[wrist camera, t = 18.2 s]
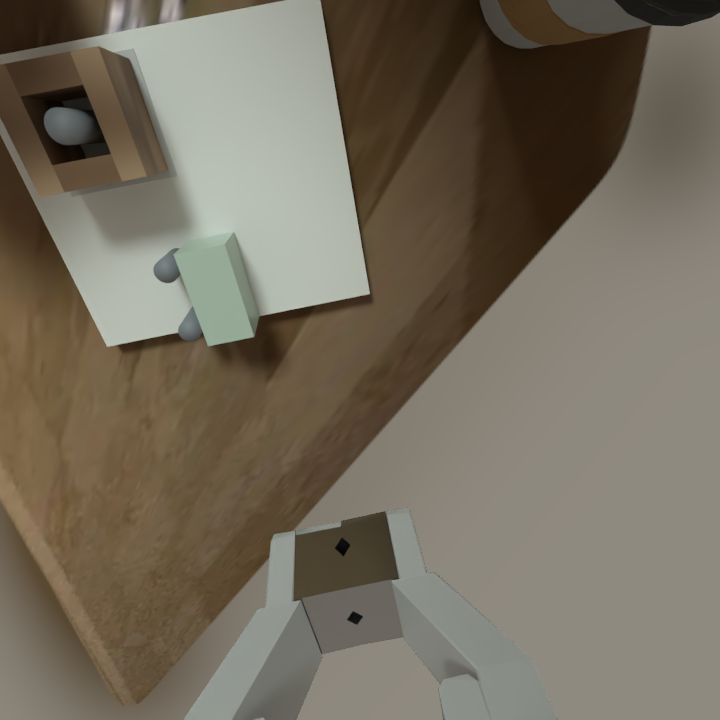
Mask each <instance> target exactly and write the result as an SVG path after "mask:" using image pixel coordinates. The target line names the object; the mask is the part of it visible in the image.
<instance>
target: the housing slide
mask: <svg viewBox="0 0 720 720" xmlns="http://www.w3.org/2000/svg"><path fill="white" fill-rule="evenodd" d="M173 255H174V258H175V260H176V263H177V266H178V268H179V271H180V273H181V276H182V279H183V281H184V284H185V287H186V289H187V292H188V295H189V297H190V300H191V302H192V305H193V308H194V310H195V313H196V316H197V318H198V321H199V323H200V326H201V329H202V331H203V334H204V337H205V339H206V342H207V345H208V346H212V345H217V344H222V343H227V342H232V341H237V340H242V339H247V338H252V337H254V336H255V332H256V328H257V324H258V320H259V317H260V316H259V313H258V310H257V307H256V303H255V300H254V297H253V293H252V290H251V287H250V284H249V280H248V277H247V274H246V271H245V267H244V264H243V261H242V257H241V254H240V251H239V248H238V244H237V241H236V238H235V234H234V232H230V233H225V234H220V235H215V236H210V237H205V238H200V239H195V240H190V241H187V242H186V243H185V244H184V245H183V246H182V247H181V248H180V249H179V250H178V251H177V252H175V253H174V254H173Z"/></svg>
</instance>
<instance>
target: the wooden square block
mask: <svg viewBox="0 0 720 720" xmlns="http://www.w3.org/2000/svg"><path fill="white" fill-rule="evenodd" d="M83 97H88V98H89V100H90V103H91V105H92V108H93V110H94V113H95V115H96V118H97V120H98V123H99V125H100V128H101V130H102V133H103V135H104V138H105V140H106V142H107V145H108V147H109V150H110V152H111V154H108V155H103V156H98V157H93V158H88V159H86V156H85V154H84V152H83V149H82V147H81V145H80V144H78V145H63V144H60V143H58V142H56V141H55V140H54V139H52V138H51V137H50V135H49V134H48V133H47V131H46V129H45V126H44V116H45V114H46V112H47V111H48V110H49V109H51V108H54V107H61V108H65V107H64V105H63V103H62V101H67V100H73V99H78V98H83ZM0 118H1V120H2V122H3V124H4V126H5V128H6V130H7V132H8V134H9V136H10V138H11V140H12V142H13V144H14V146H15V148H16V150H17V152H18V154H19V156H20V158H21V160H22V162H23V164H24V166H25V168H26V171H27V173H28V175H29V177H30V179H31V181H32V183H33V185H34V187H35V189H36V191H37V193H38V195H39V197H44V196H49V195H54V194H59V193H65V192H70V191H75V190H80V189H85V188H90V187H95V186H101V185H106V184H111V183H116V182H121V181H126V180H131V179H136V178H142V177H147V176H150V175H154V174H157V173H161V172H164V171H167V170H168V167H167V164H166V162H165V159H164V156H163V153H162V150H161V147H160V145H159V142H158V139H157V136H156V133H155V130H154V127H153V125H152V122H151V119H150V116H149V113H148V110H147V108H146V105H145V102H144V99H143V96H142V93H141V90H140V88H139V85H138V82H137V79H136V76H135V73H134V71H133V68H132V65H131V62H130V59H129V58H126V57H124V56H121V55H119V54H116V53H114V52H111V51H109V50H106V49H104V48H101V47H99V46H96V47H91V48H85V49H80V50H75V51H69V52H64V53H59V54H54V55H48V56H43V57H38V58H33V59H27V60H22V61H17V62H12V63H6V64H1V65H0Z"/></svg>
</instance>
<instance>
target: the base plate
mask: <svg viewBox="0 0 720 720" xmlns="http://www.w3.org/2000/svg"><path fill="white" fill-rule="evenodd" d="M96 46H99V47H101V48H104V49H106V50H109V51H111V52H114V53H116V54H119V55H121V56H124V57H126V58H129V59H130V62H131V65H132V68H133V71H134V73H135V76H136V79H137V82H138V85H139V88H140V90H141V93H142V96H143V99H144V102H145V105H146V108H147V110H148V113H149V116H150V119H151V122H152V125H153V127H154V130H155V133H156V136H157V139H158V142H159V145H160V147H161V150H162V153H163V156H164V159H165V162H166V164H167V167H168V170H167V171H164V172H161V173H157V174H154V175H150V176H147V177H142V178H136V179H131V180H126V181H121V182H116V183H111V184H106V185H101V186H95V187H90V188H85V189H80V190H75V191H70V192H65V193H59V194H54V195H49V196H44V197H39V195H38V193H37V191H36V189H35V187H34V185H33V183H32V181H31V179H30V177H29V175H28V173H27V171H26V168H25V166H24V164H23V162H22V160H21V158H20V156H19V154H18V152H17V150H16V148H15V146H14V144H13V142H12V140H11V138H10V136H9V134H8V132H7V130H6V128H5V126H4V124H3V122H2V120H1V118H0V135H1V137H2V139H3V141H4V143H5V145H6V147H7V149H8V151H9V153H10V155H11V157H12V159H13V161H14V163H15V165H16V167H17V169H18V171H19V173H20V175H21V177H22V179H23V181H24V183H25V185H26V187H27V189H28V191H29V193H30V195H31V197H32V199H33V201H34V203H35V205H36V207H37V209H38V211H39V213H40V215H41V217H42V219H43V221H44V223H45V225H46V226H47V228H48V230H49V232H50V234H51V236H52V238H53V240H54V242H55V244H56V246H57V248H58V250H59V252H60V254H61V256H62V258H63V260H64V262H65V264H66V266H67V268H68V270H69V272H70V274H71V276H72V278H73V280H74V282H75V284H76V286H77V288H78V290H79V292H80V294H81V296H82V298H83V300H84V302H85V304H86V306H87V308H88V310H89V312H90V314H91V316H92V318H93V319H94V321H95V323H96V325H97V327H98V329H99V331H100V333H101V335H102V337H103V339H104V341H105V343H106V345H107V347H109V346H114V345H119V344H124V343H129V342H134V341H139V340H144V339H149V338H154V337H159V336H164V335H168V334H173V333H179V335H180V337H181V338H182V339H184V340H185V341H189V342H193V341H196V340H198V339H199V338H200V336H201V334H202V332H203V331H202V329H201V326H200V323H199V321H198V318H197V316H196V313H195V310H194V308H193V305H192V302H191V300H190V297H189V295H188V292H187V289H186V287H185V284H184V281H183V279H182V276H181V273H180V271H179V268H178V266H177V263H176V260H175V258H174V255H173V254H174V253H175V252H177V251H178V250H179V249H180V248H181V247H182V246H183V245H184V244H185V243H186V242H187V241H190V240H195V239H200V238H205V237H210V236H215V235H220V234H225V233H230V232H234V234H235V238H236V241H237V244H238V248H239V251H240V254H241V257H242V261H243V264H244V267H245V271H246V274H247V277H248V280H249V284H250V287H251V290H252V293H253V297H254V300H255V303H256V307H257V310H258V313H259V316H263V315H268V314H273V313H278V312H283V311H288V310H293V309H298V308H303V307H308V306H313V305H318V304H323V303H328V302H333V301H338V300H343V299H348V298H353V297H358V296H363V295H368V294H370V291H369V286H368V280H367V274H366V268H365V262H364V256H363V250H362V244H361V238H360V232H359V226H358V220H357V214H356V208H355V203H354V197H353V191H352V185H351V179H350V173H349V167H348V161H347V155H346V149H345V143H344V137H343V131H342V126H341V120H340V114H339V108H338V102H337V96H336V90H335V84H334V78H333V72H332V66H331V60H330V54H329V48H328V43H327V37H326V31H325V25H324V19H323V13H322V7H321V1H320V0H285V1H279V2H274V3H269V4H264V5H258V6H253V7H248V8H243V9H237V10H232V11H227V12H222V13H216V14H211V15H206V16H201V17H195V18H190V19H185V20H180V21H174V22H169V23H164V24H159V25H154V26H148V27H143V28H138V29H133V30H127V31H122V32H117V33H112V34H106V35H101V36H96V37H91V38H85V39H80V40H75V41H70V42H64V43H59V44H54V45H49V46H44V47H38V48H33V49H28V50H23V51H17V52H12V53H7V54H2V55H0V65H1V64H6V63H12V62H17V61H22V60H27V59H33V58H38V57H43V56H48V55H54V54H59V53H64V52H69V51H75V50H80V49H85V48H91V47H96ZM62 103H63V105H64V107H65V108H61V107H54V108H51V109H49V110H48V111H47V112H46V114H45V116H44V126H45V129H46V131H47V133H48V134H49V135H50V137H51V138H52V139H54V140H55V141H56V142H58V143H60V144H63V145H78V144H80V145H81V147H82V149H83V152H84V154H85V156H86V159H88V158H93V157H98V156H103V155H108V154H111V152H110V150H109V147H108V145H107V142H106V140H105V138H104V135H103V133H102V130H101V128H100V125H99V123H98V120H97V118H96V115H95V113H94V110H93V108H92V105H91V103H90V100H89V98H88V97H83V98H78V99H73V100H67V101H62Z"/></svg>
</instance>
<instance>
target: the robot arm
mask: <svg viewBox="0 0 720 720" xmlns="http://www.w3.org/2000/svg"><path fill="white" fill-rule="evenodd" d="M389 531H390V532H389ZM390 536H391V537H390ZM391 541H392V542H391ZM400 637H404V640H405V641H406V642H407V643H408V645H409V646H410V647H411V648H412V649H413V651H414V652H415V653H416V655H417V656H418V657H419V658H420V660H421V661H422V662H423V663H424V664H425V666H426V667H427V668H428V670H429V671H430V672H431V673H432V675H433V676H434V677H435V678H436V680H437V681H438V682H439V683H440V687H439V696H440V702H441V708H442V715H443V720H558V719H557V717H556V714H555V712H554V710H553V707H552V705H551V703H550V700H549V698H548V695H547V693H546V691H545V688H544V686H543V684H542V681H541V679H540V677H539V674H538V672H537V670H536V667H535V665H534V663H533V660H532V658H531V657H530V656H528V655H527V654H526V653H525V652H524V651H523V650H522V649H521V648H519V647H518V646H517V645H516V644H515V643H514V642H513V641H511V640H510V639H509V638H508V637H507V636H506V635H505V634H504V633H503V632H501V631H500V630H499V629H498V628H497V627H496V626H494V624H492V623H491V622H490V621H489V620H488V619H487V618H486V617H485V616H483V615H482V614H481V613H480V612H479V611H478V610H477V609H476V608H474V607H473V606H472V605H471V604H470V603H469V602H468V601H466V600H465V599H464V598H463V597H462V596H461V595H460V594H458V592H456V591H455V590H454V589H453V588H452V587H451V586H450V585H449V584H447V583H446V582H445V581H444V580H443V579H442V578H440V576H438V575H437V574H436V573H435V572H431V573H427V570H426V567H425V563H424V559H423V556H422V552H421V548H420V545H419V541H418V537H417V534H416V530H415V526H414V523H413V519H412V515H411V511H410V509H409V508H408V507H405V508H400V509H395V510H391V511H386V513H385V512H380V513H376V514H371V515H367V516H362V517H358V518H353V519H348V520H344V521H341V522H337V523H332V524H326V525H321V526H315V527H310V528H304V529H298V530H295V531H289V532H284V533H279V534H274V535H273V538H272V541H271V548H270V559H269V571H268V581H267V592H266V604H265V607H264V608H260V609H258V610H257V611H256V613H255V614H254V616H253V617H252V619H251V620H250V622H249V623H248V625H247V626H246V628H245V629H244V630H243V632H242V634H241V635H240V636H239V638H238V639H237V641H236V642H235V644H234V645H233V647H232V648H231V650H230V651H229V653H228V654H227V656H226V657H225V659H224V661H223V662H222V664H221V665H220V666H219V668H218V669H217V671H216V672H215V674H214V675H213V677H212V678H211V680H210V681H209V683H208V684H207V686H206V687H205V689H204V690H203V692H202V693H201V695H200V696H199V698H198V699H197V701H196V702H195V704H194V705H193V706H192V708H191V710H190V711H189V712H188V714H187V715H186V717H185V718H184V720H296V719H297V716H298V714H299V712H300V709H301V707H302V705H303V702H304V700H305V698H306V695H307V693H308V691H309V688H310V686H311V683H312V681H313V679H314V676H315V674H316V672H317V669H318V667H319V664H320V662H321V660H322V658H323V657H322V654H325V653H329V652H333V651H337V650H342V649H346V648H350V647H354V646H358V645H362V644H368V643H373V642H378V641H384V640H389V639H395V638H400Z"/></svg>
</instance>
